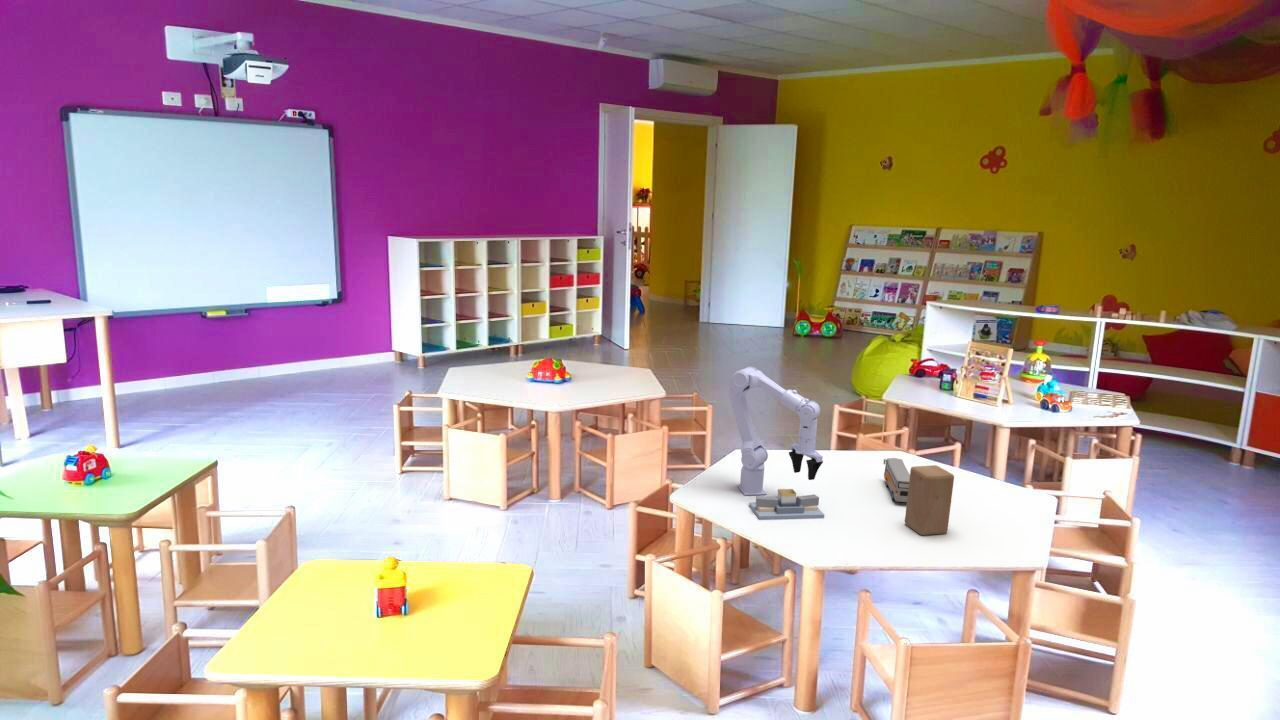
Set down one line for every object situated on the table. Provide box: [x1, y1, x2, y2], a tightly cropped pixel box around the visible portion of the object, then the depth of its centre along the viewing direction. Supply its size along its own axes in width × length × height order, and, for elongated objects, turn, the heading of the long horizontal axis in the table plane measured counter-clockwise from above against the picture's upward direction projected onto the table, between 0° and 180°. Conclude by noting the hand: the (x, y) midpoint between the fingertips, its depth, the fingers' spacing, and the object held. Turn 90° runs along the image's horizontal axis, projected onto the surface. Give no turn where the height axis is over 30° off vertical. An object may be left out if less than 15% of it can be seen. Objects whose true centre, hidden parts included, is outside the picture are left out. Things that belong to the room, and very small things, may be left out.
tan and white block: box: [776, 488, 797, 507], centre depth 280 cm, size 5×4×6 cm
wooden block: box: [904, 464, 955, 536], centre depth 270 cm, size 10×10×20 cm
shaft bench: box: [748, 494, 825, 521], centre depth 281 cm, size 12×22×5 cm, turn 99°
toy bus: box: [883, 457, 910, 503], centre depth 302 cm, size 7×26×10 cm, turn 173°
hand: (804, 475), depth 287 cm, fingers open, 7 cm apart
